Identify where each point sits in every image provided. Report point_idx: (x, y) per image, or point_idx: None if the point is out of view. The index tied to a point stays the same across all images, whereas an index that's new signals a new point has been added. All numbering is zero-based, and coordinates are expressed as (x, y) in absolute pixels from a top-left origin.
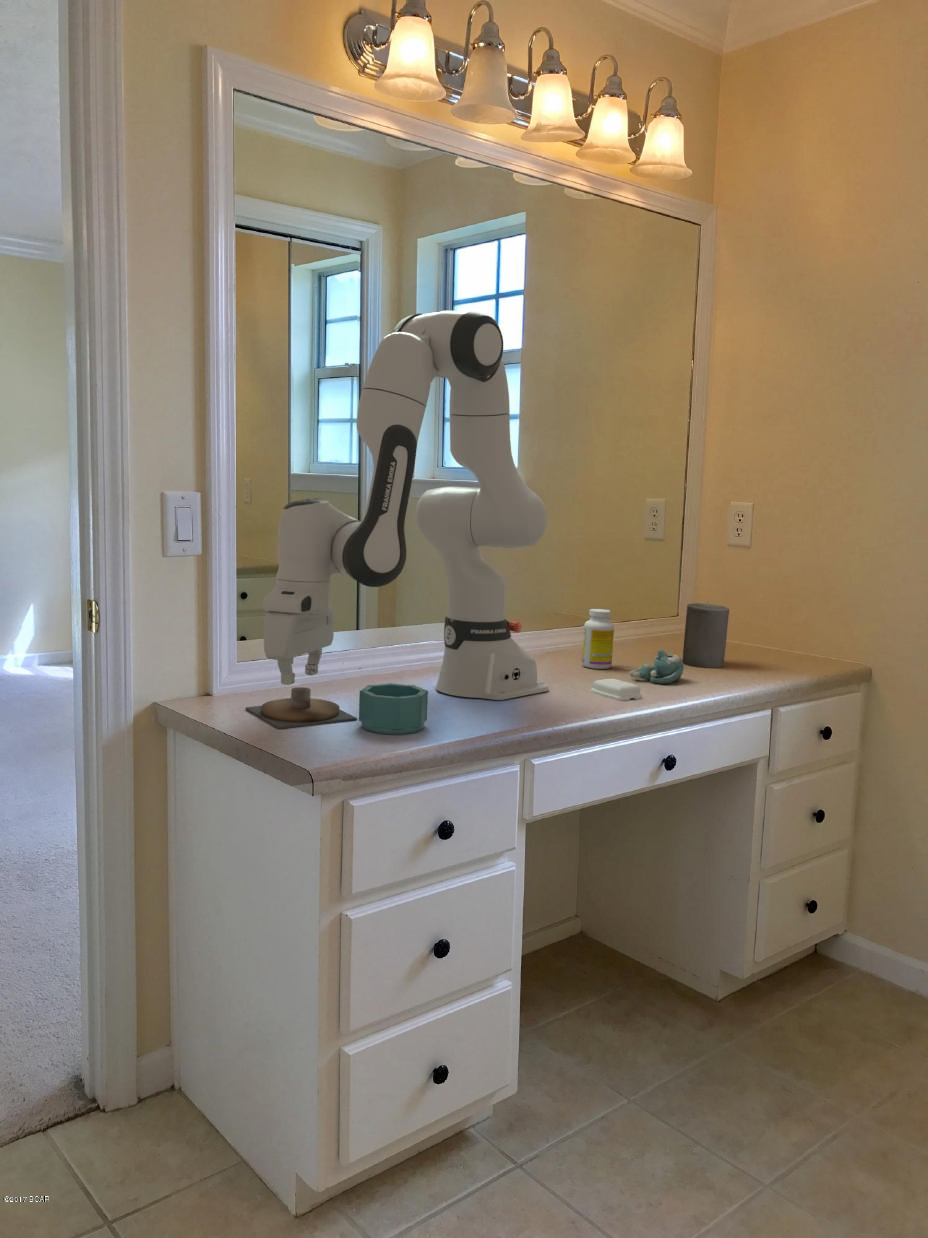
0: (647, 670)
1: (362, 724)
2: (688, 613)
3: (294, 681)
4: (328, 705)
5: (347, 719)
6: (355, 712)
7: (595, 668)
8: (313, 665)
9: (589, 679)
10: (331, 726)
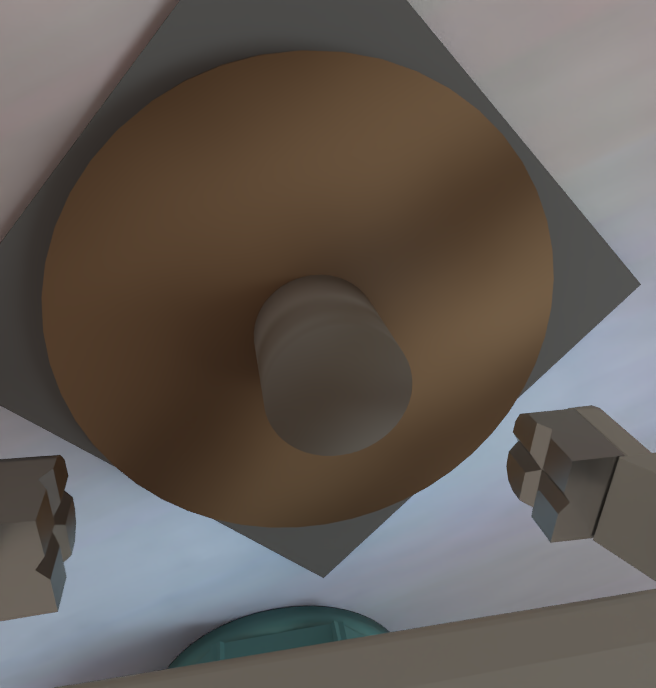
0: None
1: (204, 649)
2: None
3: (70, 543)
4: (410, 447)
5: (284, 556)
6: (462, 507)
7: None
8: (557, 531)
9: None
10: (160, 534)
